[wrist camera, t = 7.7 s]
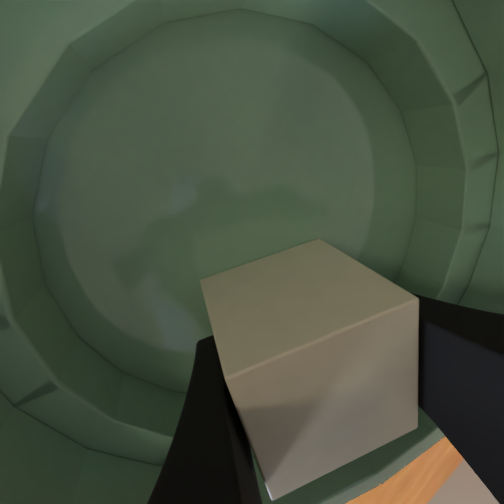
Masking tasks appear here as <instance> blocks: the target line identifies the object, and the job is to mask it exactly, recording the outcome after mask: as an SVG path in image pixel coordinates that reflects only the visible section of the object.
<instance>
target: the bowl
mask: <svg viewBox="0 0 504 504" xmlns="http://www.w3.org/2000/svg"><path fill="white" fill-rule="evenodd" d="M316 239H321V240H323V241H325V242H326V243H328V244H330V245H331V246H333V247H335V248H336V249H338V250H340V251H341V252H343V253H344V254H346V255H348V256H349V257H351V258H353V259H354V260H356V261H358V262H359V263H361V264H363V265H364V266H366V267H368V268H369V269H371V270H373V271H374V272H376V273H378V274H379V275H381V276H383V277H384V278H386V279H388V280H389V281H391V282H393V283H394V284H396V285H398V286H399V287H401V288H403V289H404V290H406V291H408V292H410V293H414V294H417V295H421V296H424V297H428V298H432V299H436V300H440V301H443V302H447V303H452V304H456V305H460V306H464V307H469V308H473V309H478V310H483V311H488V312H493V313H499V314H504V0H0V504H147V503H148V500H149V498H150V496H151V493H152V491H153V489H154V487H155V484H156V482H157V479H158V477H159V474H160V472H161V469H162V467H163V464H164V462H165V459H166V457H167V454H168V451H169V448H170V446H171V443H172V440H173V437H174V434H175V431H176V428H177V425H178V422H179V418H180V415H181V412H182V409H183V405H184V402H185V398H186V394H187V390H188V386H189V382H190V378H191V374H192V369H193V364H194V359H195V352H196V344H197V342H198V341H199V340H201V339H204V338H206V337H209V336H211V335H213V331H212V327H211V323H210V319H209V315H208V311H207V307H206V303H205V299H204V295H203V291H202V287H201V283H200V280H201V279H203V278H206V277H209V276H212V275H215V274H218V273H221V272H224V271H226V270H229V269H232V268H235V267H238V266H241V265H244V264H247V263H249V262H252V261H255V260H258V259H261V258H264V257H267V256H270V255H273V254H275V253H278V252H281V251H284V250H287V249H290V248H293V247H296V246H298V245H301V244H304V243H307V242H310V241H313V240H316ZM444 436H445V435H444V434H443V433H442V431H441V430H440V429H439V428H438V427H437V425H436V424H435V423H434V422H433V421H432V420H431V419H430V418H429V416H428V415H427V414H426V413H425V412H424V411H423V410H422V409H421V408H420V407H419V406H418V427H417V428H416V429H414V430H412V431H410V432H408V433H406V434H404V435H402V436H400V437H398V438H397V439H395V440H393V441H391V442H389V443H387V444H385V445H383V446H381V447H379V448H377V449H375V450H373V451H371V452H369V453H367V454H365V455H363V456H361V457H359V458H357V459H355V460H353V461H351V462H349V463H347V464H345V465H343V466H341V467H339V468H337V469H335V470H333V471H331V472H329V473H327V474H325V475H323V476H321V477H319V478H317V479H315V480H313V481H311V482H309V483H307V484H305V485H303V486H301V487H299V488H297V489H295V490H293V491H291V492H289V493H288V494H286V495H284V496H282V497H280V498H278V499H276V500H271V498H270V496H269V493H268V491H267V488H266V486H265V483H264V480H263V478H262V475H261V473H260V470H259V467H258V465H257V462H256V460H255V457H254V454H253V452H252V449H251V452H252V457H253V462H254V467H255V472H256V476H257V481H258V486H259V491H260V495H261V499H262V503H263V504H345V503H347V502H348V501H350V500H352V499H354V498H356V497H358V496H360V495H362V494H364V493H365V492H367V491H369V490H371V489H373V488H375V487H377V486H379V485H380V483H381V484H382V483H384V482H385V481H386V480H388V479H389V478H390V477H392V476H393V475H394V474H396V473H397V472H398V471H400V470H401V469H402V468H404V467H405V466H406V465H408V464H409V463H410V462H412V461H413V460H414V459H416V458H417V457H418V456H420V455H421V454H422V453H424V452H425V451H426V450H428V449H429V448H430V447H432V446H433V445H434V444H436V443H437V442H438V441H440V439H442V438H443V437H444ZM250 447H251V446H250Z"/></svg>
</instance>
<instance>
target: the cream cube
mask: <svg viewBox="0 0 504 504" xmlns="http://www.w3.org/2000/svg"><path fill="white" fill-rule="evenodd" d="M200 283H201V287H202V291H203V295H204V299H205V303H206V307H207V311H208V315H209V319H210V323H211V327H212V331H213V335H214V339H215V343H216V347H217V351H218V355H219V359H220V363H221V367H222V371H223V375H224V379H225V381H226V384H227V387H228V389H229V392H230V394H231V397H232V400H233V402H234V405H235V407H236V410H237V413H238V415H239V418H240V420H241V423H242V426H243V428H244V431H245V433H246V436H247V439H248V441H249V444H250V446H251V449H252V452H253V454H254V457H255V460H256V462H257V465H258V467H259V470H260V473H261V475H262V478H263V480H264V483H265V486H266V488H267V491H268V493H269V496H270V498H271V500H276V499H278V498H280V497H282V496H284V495H286V494H288V493H289V492H291V491H293V490H295V489H297V488H299V487H301V486H303V485H305V484H307V483H309V482H311V481H313V480H315V479H317V478H319V477H321V476H323V475H325V474H327V473H329V472H331V471H333V470H335V469H337V468H339V467H341V466H343V465H345V464H347V463H349V462H351V461H353V460H355V459H357V458H359V457H361V456H363V455H365V454H367V453H369V452H371V451H373V450H375V449H377V448H379V447H381V446H383V445H385V444H387V443H389V442H391V441H393V440H395V439H397V438H398V437H400V436H402V435H404V434H406V433H408V432H410V431H412V430H414V429H416V428H417V427H418V361H419V299H418V298H417V297H416V296H414V295H413V294H411V293H409V292H408V291H406V290H404V289H403V288H401V287H399V286H398V285H396V284H394V283H393V282H391V281H389V280H388V279H386V278H384V277H383V276H381V275H379V274H378V273H376V272H374V271H373V270H371V269H369V268H368V267H366V266H364V265H363V264H361V263H359V262H358V261H356V260H354V259H353V258H351V257H349V256H348V255H346V254H344V253H343V252H341V251H340V250H338V249H336V248H335V247H333V246H331V245H330V244H328V243H326V242H325V241H323V240H321V239H316V240H313V241H310V242H307V243H304V244H301V245H298V246H296V247H293V248H290V249H287V250H284V251H281V252H278V253H275V254H273V255H270V256H267V257H264V258H261V259H258V260H255V261H252V262H249V263H247V264H244V265H241V266H238V267H235V268H232V269H229V270H226V271H224V272H221V273H218V274H215V275H212V276H209V277H206V278H203V279H201V280H200Z"/></svg>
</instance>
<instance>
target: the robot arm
mask: <svg viewBox="0 0 504 504" xmlns="http://www.w3.org/2000/svg"><path fill="white" fill-rule="evenodd" d="M409 293H410V292H409ZM411 294H413V295H414V296H416V297H417V298H418V299H419V361H418V406H419V407H420V408H421V409H422V410H423V411H424V412H425V413H426V414H427V415H428V416H429V418H430V419H431V420H432V421H433V422H434V423H435V424H436V425H437V427H438V428H439V429H440V430H441V431H442V433H443V434H444V435H445V436H446V437H447V439H448V440H449V441H450V442H451V443H452V445H453V446H454V447H455V448H456V449H457V451H458V452H459V453H460V454H461V455H462V457H463V458H464V459H465V460H466V462H467V463H468V464H469V465H470V467H471V468H472V469H473V470H474V472H475V473H476V474H477V475H478V477H479V478H480V479H481V480H482V482H483V483H484V484H485V485H486V487H487V488H488V489H489V490H490V492H491V493H492V494H493V496H494V497H495V498H496V499H497V501H498V502H499V503H500V504H504V314H499V313H493V312H488V311H483V310H478V309H473V308H469V307H464V306H460V305H456V304H452V303H447V302H443V301H440V300H436V299H432V298H428V297H424V296H421V295H417V294H414V293H411ZM147 504H263V503H262V499H261V495H260V491H259V486H258V481H257V476H256V472H255V467H254V462H253V457H252V452H251V447H250V444H249V441H248V439H247V436H246V433H245V431H244V428H243V426H242V423H241V420H240V418H239V415H238V413H237V410H236V407H235V405H234V402H233V400H232V397H231V394H230V392H229V389H228V387H227V384H226V381H225V379H224V375H223V371H222V367H221V363H220V359H219V355H218V351H217V347H216V343H215V339H214V335H211V336H209V337H206V338H204V339H201V340H199V341H198V342H197V344H196V352H195V359H194V364H193V369H192V374H191V378H190V382H189V386H188V390H187V394H186V398H185V402H184V405H183V409H182V412H181V415H180V418H179V422H178V425H177V428H176V431H175V434H174V437H173V440H172V443H171V446H170V448H169V451H168V454H167V457H166V459H165V462H164V464H163V467H162V469H161V472H160V474H159V477H158V479H157V482H156V484H155V487H154V489H153V491H152V493H151V496H150V498H149V500H148V503H147Z"/></svg>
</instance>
